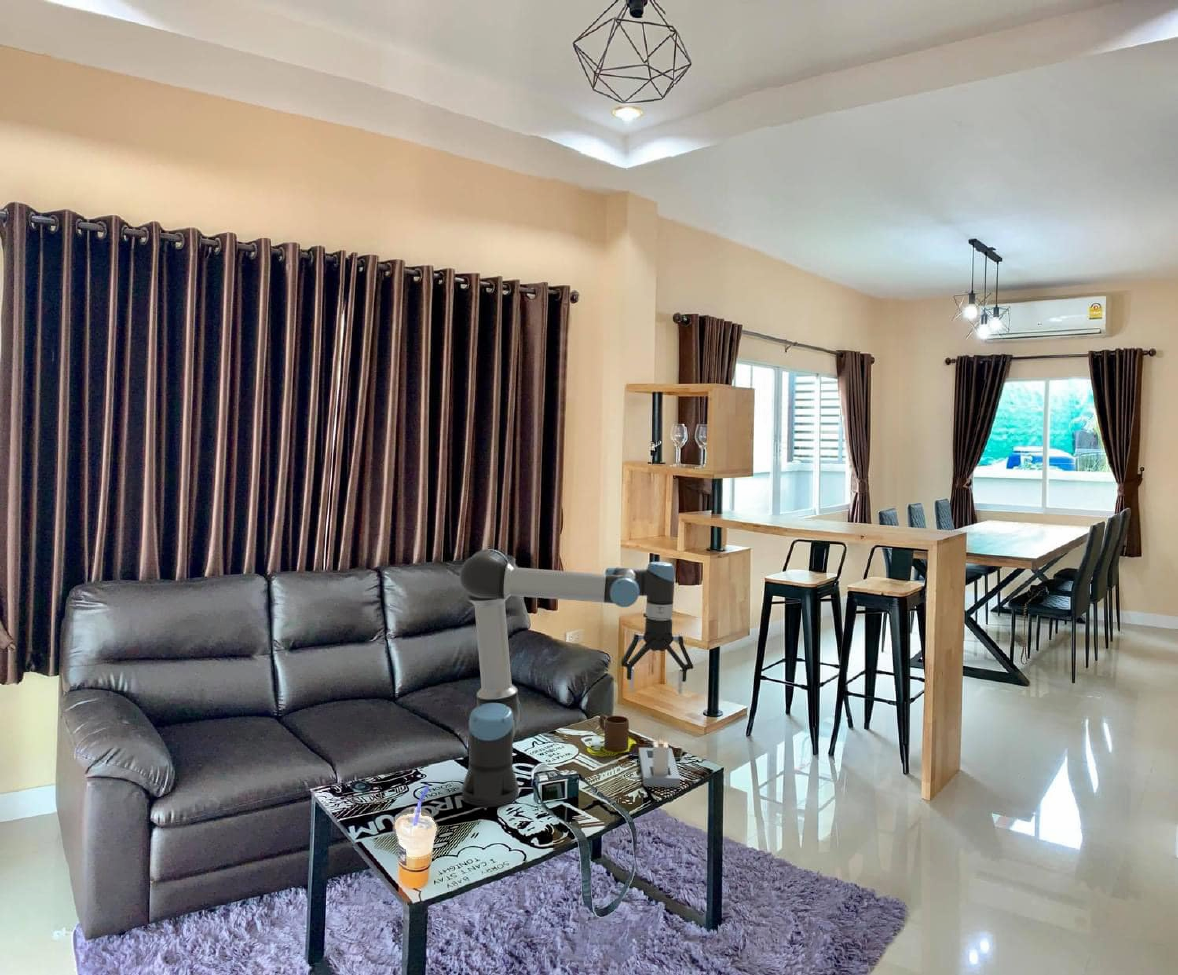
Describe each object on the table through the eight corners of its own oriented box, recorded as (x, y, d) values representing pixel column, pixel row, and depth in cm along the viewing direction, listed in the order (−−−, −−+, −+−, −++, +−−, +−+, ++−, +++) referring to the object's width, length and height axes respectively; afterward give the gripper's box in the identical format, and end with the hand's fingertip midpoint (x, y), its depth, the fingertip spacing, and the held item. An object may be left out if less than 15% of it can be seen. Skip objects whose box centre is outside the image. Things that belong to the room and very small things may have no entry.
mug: (590, 743, 257) (590, 714, 256) (608, 738, 262) (608, 709, 261) (615, 755, 248) (615, 725, 247) (633, 749, 252) (634, 720, 252)
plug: (653, 781, 228) (654, 744, 227) (652, 775, 232) (653, 738, 231) (667, 782, 228) (668, 744, 227) (666, 776, 232) (667, 739, 231)
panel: (643, 788, 225) (644, 777, 224) (638, 757, 247) (638, 747, 246) (679, 788, 225) (680, 778, 225) (671, 757, 247) (671, 748, 246)
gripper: (615, 618, 223) (612, 694, 224) (705, 622, 223) (701, 697, 224) (614, 612, 230) (611, 685, 232) (701, 616, 231) (697, 689, 232)
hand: (655, 691), depth 228 cm, fingers open, 13 cm apart
